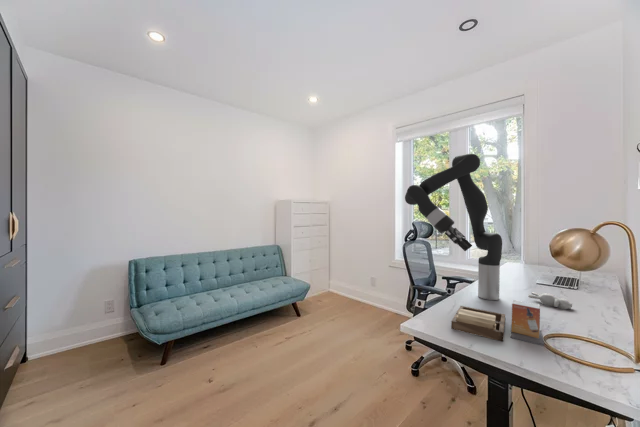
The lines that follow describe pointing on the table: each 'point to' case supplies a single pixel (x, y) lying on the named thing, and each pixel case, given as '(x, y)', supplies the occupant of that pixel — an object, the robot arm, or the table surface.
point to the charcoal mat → (528, 338)
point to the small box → (526, 318)
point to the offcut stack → (477, 318)
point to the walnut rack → (480, 330)
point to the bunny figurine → (552, 300)
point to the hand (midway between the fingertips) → (469, 248)
